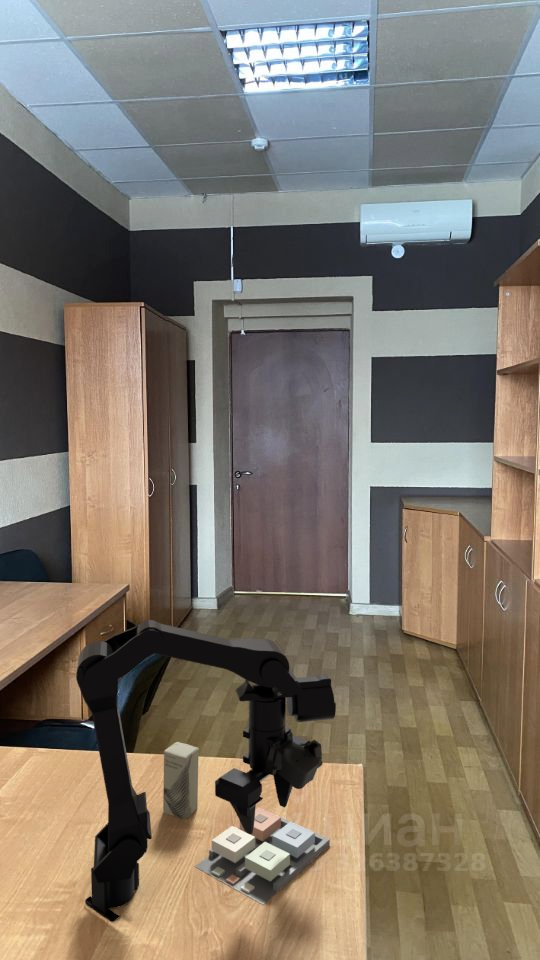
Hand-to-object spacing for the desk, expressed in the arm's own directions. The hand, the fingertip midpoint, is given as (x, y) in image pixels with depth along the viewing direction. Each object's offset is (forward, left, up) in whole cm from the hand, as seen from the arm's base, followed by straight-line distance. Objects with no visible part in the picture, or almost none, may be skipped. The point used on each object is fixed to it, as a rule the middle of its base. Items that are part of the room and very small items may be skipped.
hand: (266, 819), depth 108 cm
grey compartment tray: (+3, +3, -10) cm, 11 cm away
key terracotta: (+7, +6, -7) cm, 12 cm away
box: (+4, +23, -10) cm, 25 cm away
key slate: (+7, 0, -7) cm, 10 cm away
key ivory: (0, +6, -7) cm, 10 cm away
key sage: (0, -1, -7) cm, 7 cm away
